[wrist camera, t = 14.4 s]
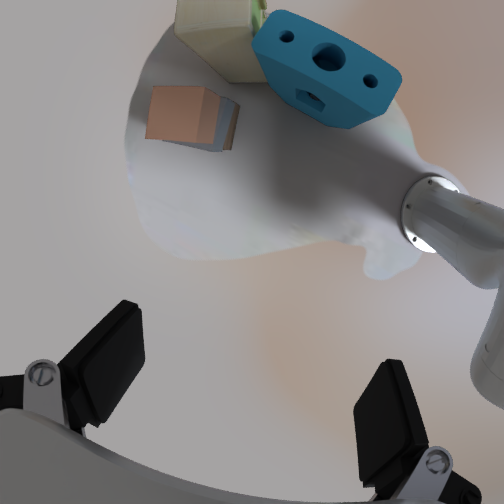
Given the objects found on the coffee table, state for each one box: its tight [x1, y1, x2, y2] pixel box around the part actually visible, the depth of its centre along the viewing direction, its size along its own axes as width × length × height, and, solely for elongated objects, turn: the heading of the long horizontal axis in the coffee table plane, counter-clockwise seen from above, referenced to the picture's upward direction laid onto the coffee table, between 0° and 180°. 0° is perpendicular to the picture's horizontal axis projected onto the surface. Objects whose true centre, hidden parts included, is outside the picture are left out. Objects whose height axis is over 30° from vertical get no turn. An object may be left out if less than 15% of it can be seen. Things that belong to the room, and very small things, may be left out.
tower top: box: [162, 97, 235, 152], centre depth 33 cm, size 7×7×4 cm
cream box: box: [174, 0, 268, 83], centre depth 25 cm, size 8×7×21 cm
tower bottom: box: [222, 101, 240, 150], centre depth 37 cm, size 7×7×4 cm
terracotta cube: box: [145, 86, 221, 144], centre depth 28 cm, size 6×6×6 cm
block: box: [251, 10, 402, 129], centre depth 26 cm, size 12×5×20 cm, turn 61°
